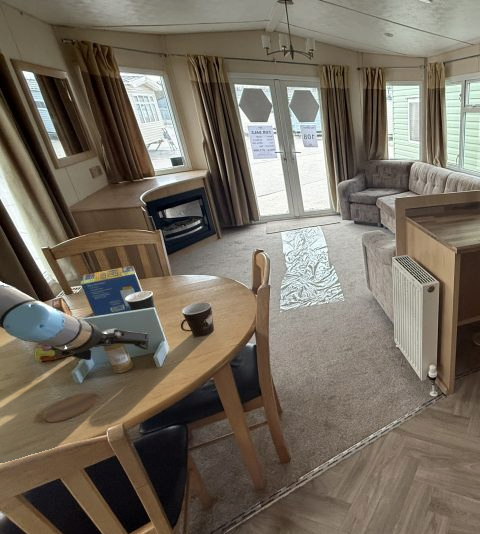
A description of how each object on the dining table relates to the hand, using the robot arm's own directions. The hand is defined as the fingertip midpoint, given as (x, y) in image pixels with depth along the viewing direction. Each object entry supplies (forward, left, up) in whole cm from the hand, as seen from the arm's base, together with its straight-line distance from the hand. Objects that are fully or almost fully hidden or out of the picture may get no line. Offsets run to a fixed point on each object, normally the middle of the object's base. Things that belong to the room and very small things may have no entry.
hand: (118, 350), depth 102 cm
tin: (-49, +3, -7) cm, 50 cm away
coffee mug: (+2, +21, -6) cm, 22 cm away
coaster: (+7, -15, -6) cm, 17 cm away
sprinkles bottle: (+1, -1, -6) cm, 7 cm away
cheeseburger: (-26, -6, -6) cm, 28 cm away
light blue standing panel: (-1, 0, -6) cm, 6 cm away
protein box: (-42, +17, -6) cm, 46 cm away
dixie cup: (-23, +17, -6) cm, 30 cm away
